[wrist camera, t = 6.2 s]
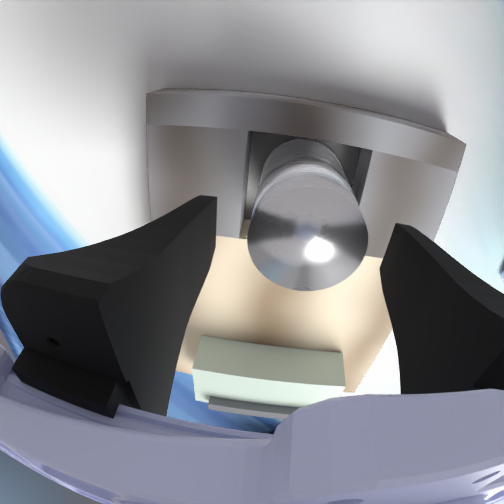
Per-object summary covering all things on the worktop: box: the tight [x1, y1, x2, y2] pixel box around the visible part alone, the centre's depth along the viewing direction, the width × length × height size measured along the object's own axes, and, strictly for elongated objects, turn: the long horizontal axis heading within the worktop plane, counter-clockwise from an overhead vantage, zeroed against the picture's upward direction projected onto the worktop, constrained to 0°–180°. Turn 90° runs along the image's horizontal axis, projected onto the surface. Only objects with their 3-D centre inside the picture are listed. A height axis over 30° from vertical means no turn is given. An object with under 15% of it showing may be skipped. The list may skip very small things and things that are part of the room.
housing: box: [146, 89, 466, 392], centre depth 18 cm, size 14×19×2 cm
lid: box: [192, 336, 346, 419], centre depth 19 cm, size 9×4×3 cm, turn 85°
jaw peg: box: [247, 139, 368, 291], centre depth 13 cm, size 4×4×6 cm
